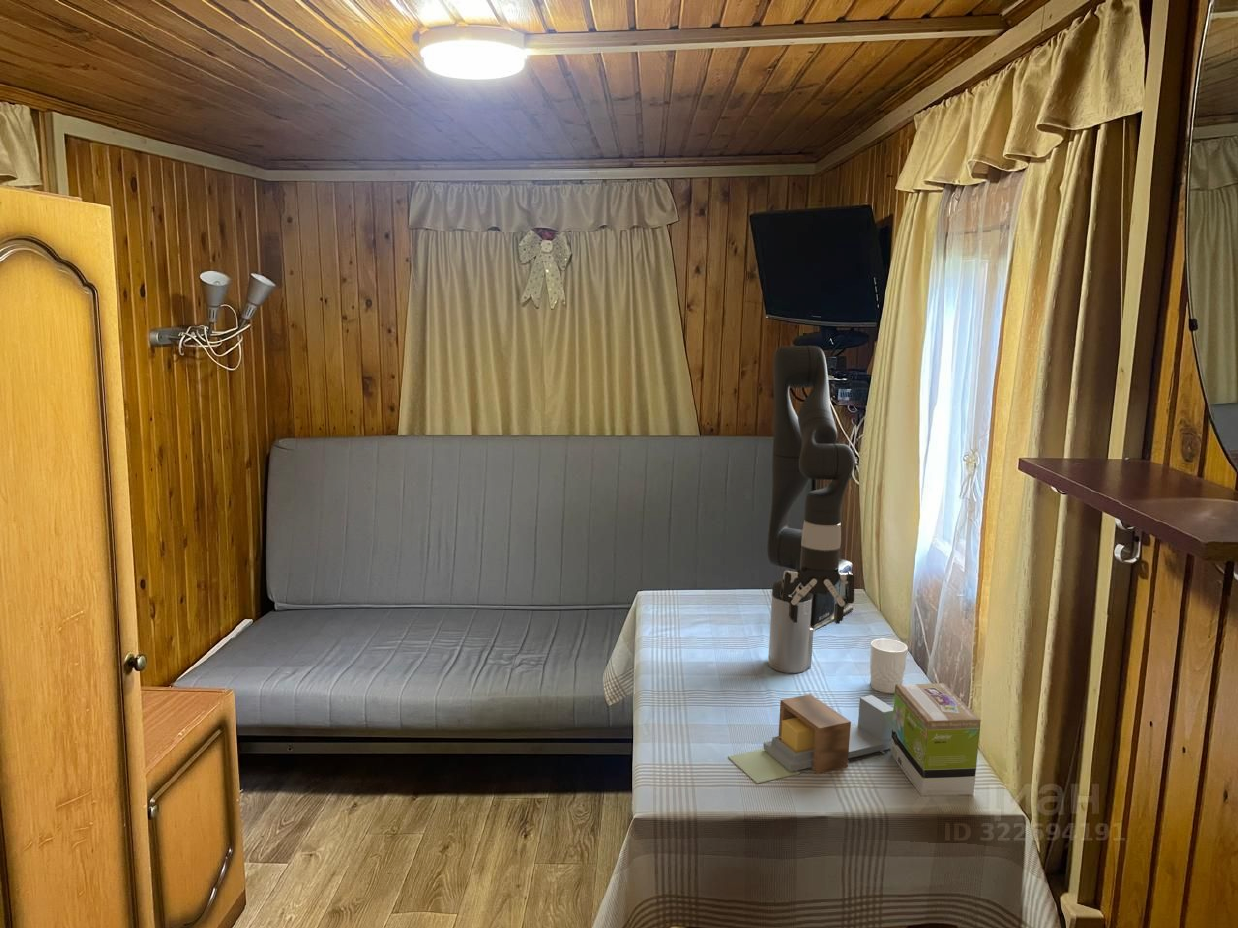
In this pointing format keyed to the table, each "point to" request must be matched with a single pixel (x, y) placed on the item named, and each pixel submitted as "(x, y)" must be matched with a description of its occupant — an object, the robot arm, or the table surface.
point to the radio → (829, 601)
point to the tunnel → (820, 730)
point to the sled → (864, 736)
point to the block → (797, 735)
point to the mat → (761, 766)
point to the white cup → (887, 664)
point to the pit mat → (865, 756)
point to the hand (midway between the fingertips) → (815, 621)
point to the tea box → (935, 739)
